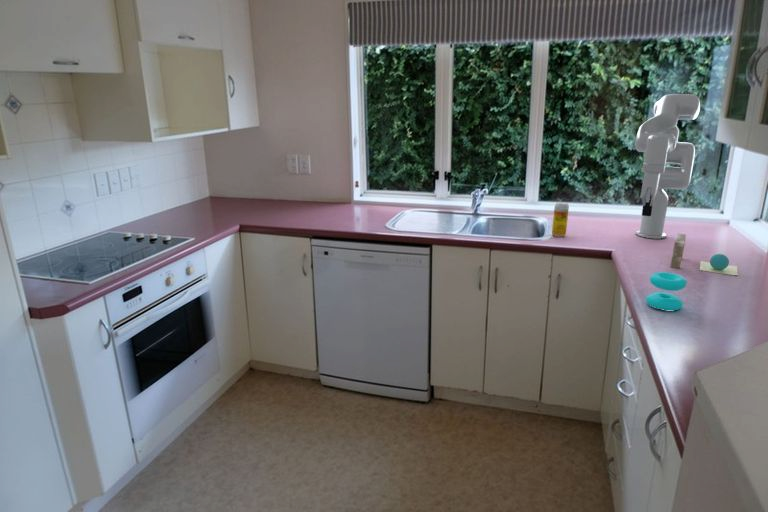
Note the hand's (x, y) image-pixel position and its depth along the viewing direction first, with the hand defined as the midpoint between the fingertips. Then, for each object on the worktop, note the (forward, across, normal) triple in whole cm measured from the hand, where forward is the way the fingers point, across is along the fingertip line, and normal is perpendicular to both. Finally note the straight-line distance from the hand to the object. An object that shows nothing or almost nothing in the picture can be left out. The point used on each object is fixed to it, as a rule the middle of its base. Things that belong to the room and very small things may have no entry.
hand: (646, 215), depth 207 cm
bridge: (+17, 0, +13) cm, 21 cm away
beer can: (+17, -16, -36) cm, 43 cm away
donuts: (+17, +51, +13) cm, 55 cm away
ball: (+14, +1, +27) cm, 30 cm away
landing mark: (+17, 0, +27) cm, 32 cm away
